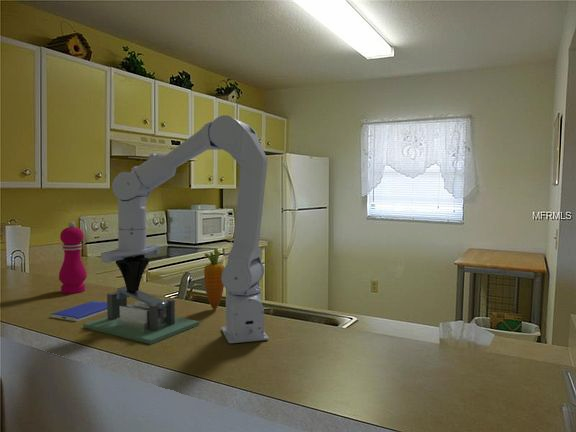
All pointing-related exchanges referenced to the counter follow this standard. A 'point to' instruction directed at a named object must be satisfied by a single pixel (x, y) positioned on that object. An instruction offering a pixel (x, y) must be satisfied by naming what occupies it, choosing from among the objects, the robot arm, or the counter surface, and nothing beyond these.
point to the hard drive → (82, 311)
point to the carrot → (213, 279)
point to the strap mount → (115, 304)
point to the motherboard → (147, 336)
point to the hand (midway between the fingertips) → (132, 290)
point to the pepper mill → (72, 261)
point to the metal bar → (141, 297)
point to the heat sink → (139, 316)
